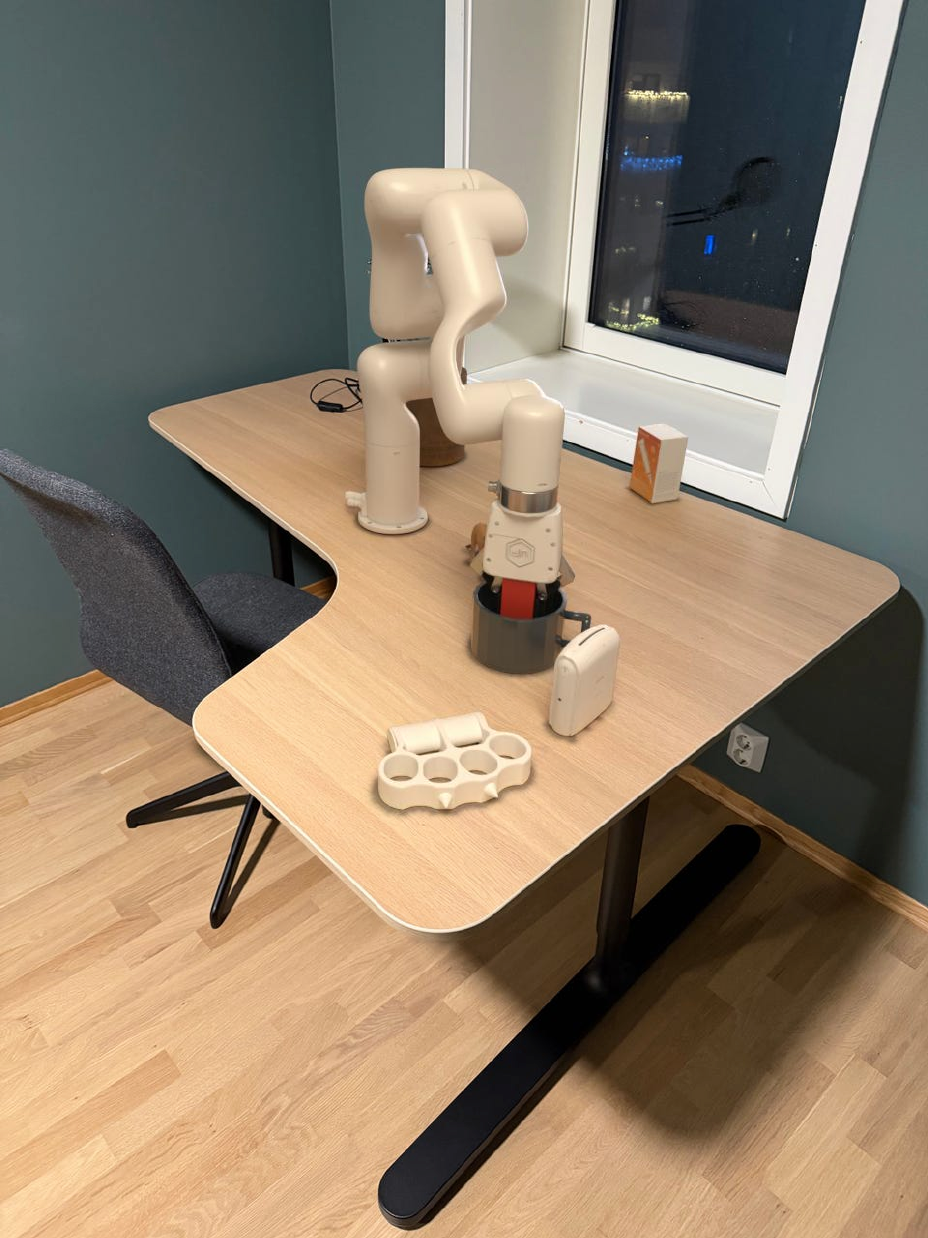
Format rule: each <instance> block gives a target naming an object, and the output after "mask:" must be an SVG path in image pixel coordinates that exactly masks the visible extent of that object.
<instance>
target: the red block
mask: <svg viewBox="0 0 928 1238" xmlns="http://www.w3.org/2000/svg"><path fill="white" fill-rule="evenodd" d="M536 595H537V586H536V583H533V582H526V581H520V580H513V579H507V578H503V581H502V597H501V612H500V615H501V616H504V617H510V618H516V619H533V610H534V600H535V597H536Z"/></svg>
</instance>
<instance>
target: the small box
mask: <svg viewBox="0 0 928 1238" xmlns="http://www.w3.org/2000/svg"><path fill="white" fill-rule="evenodd" d="M688 443H689V436H688V435H686V434H684V433H682V432H681V431H680V430H678V429H676V428H674V427H672V426H670V425H668V424H667V423H653V424H648V425H639V426H638V429H637V437H636V441H635V449H634V456H633V462H632V469H631V475H630V482H629V489H631V490H633V491H634V492H636V493H637V494H638V495H640V496H641V497H642V498H644V499H645V500H646V501H648V502H649V503H650V504H656V503H662V502H669V501H670V502H671V501H676V500H678V498H679V493H680V488H681V481H682V475H683V470H684V463H685V459H686V453H687V448H688V447H687V446H688Z"/></svg>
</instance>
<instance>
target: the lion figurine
mask: <svg viewBox="0 0 928 1238" xmlns="http://www.w3.org/2000/svg"><path fill="white" fill-rule="evenodd" d="M486 529H487V524H486V523H483V522H478V523H477V524H475V525H474V526H473V528H472V530H471V535H470V543H469V544H467V545H464V547H465V548H466V549H467V550H469V549H470V550H469V558H468V561H467V563H468V564H470V563H471V562H472V560H473V558H474V557H475V554H476V548H477V549H478V553H479V552H480V551H481V550H482V549H483V548H484V545H485V536H486ZM488 560H489V559H488ZM481 580H482V581H485V580H484V579H483V577H482V576H481Z"/></svg>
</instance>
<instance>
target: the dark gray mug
mask: <svg viewBox="0 0 928 1238" xmlns="http://www.w3.org/2000/svg"><path fill="white" fill-rule="evenodd" d="M493 598H494V592H493V591H492V590H491V586H490V585H489V584H488V583H487V582H486V581H484V580H482V581H481V583H478V585H476V587H475V588H474V590H473V593H472V608H471V627H470V628H471V629H470V647H471V648H470V650H471V653H472V654H473V656H474V658H475V659H476V660H477V661H478V662H479V663H481V664H482V665H484V666H485V667H488V668H490V669H492V670H494V671H498V672H501V673H504V674H505V673H506V674H513V675H526V674H527V675H528V674H535V673H539V672H543V671H546V670H548V669H550V668H551V667H554V664H555V661H556V659H557V657H558V655H559V654H560V652H561V651H562V650H563V649H564V648H565V646H566V645H567V644H568V643H570V642H571V641H572V640H573V639H566V638H564V632H565V624H566V620H568V621H569V620H570V621H576V622H581V625H580V632H579V634H581V633H582V632H584V631H585V630H587V629H589V628H591V624H592V616H591V614H590V613H587V612H586V613H585V612H580V611H573V610H568V609H567V607H568V606H567V605H568V598H567V596H566V593H565V592H564V591H563V590H562V589H561V588H559V589H558V590H557V591H555V592H554V593H552V594H551V595H549V596H548V597H547V601H546V611H545V615H544V617H540V618H534V619H516V618H510V617H504V616H501V615H498V614H496V612H497V610H496V609H493Z"/></svg>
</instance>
